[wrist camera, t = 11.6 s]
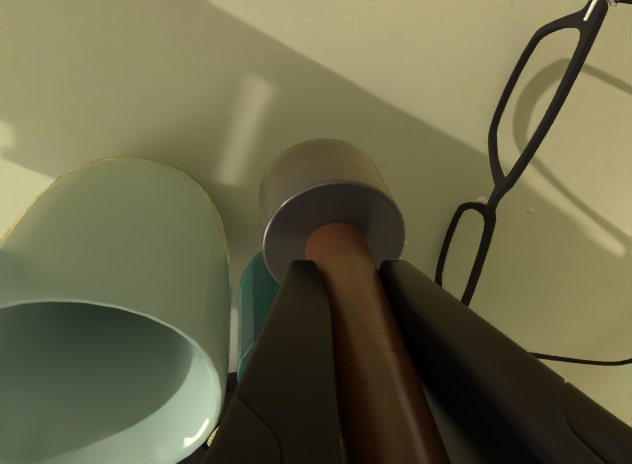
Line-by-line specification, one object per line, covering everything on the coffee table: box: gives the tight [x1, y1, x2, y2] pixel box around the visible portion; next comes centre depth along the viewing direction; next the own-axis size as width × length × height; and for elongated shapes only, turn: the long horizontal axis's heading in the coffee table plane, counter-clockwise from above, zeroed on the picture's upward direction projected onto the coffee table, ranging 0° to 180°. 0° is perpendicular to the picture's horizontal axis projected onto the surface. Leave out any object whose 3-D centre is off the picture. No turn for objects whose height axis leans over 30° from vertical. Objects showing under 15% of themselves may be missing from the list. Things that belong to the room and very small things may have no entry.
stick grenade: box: [259, 139, 451, 464], centre depth 8 cm, size 3×3×7 cm
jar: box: [237, 251, 281, 383], centre depth 23 cm, size 7×7×6 cm
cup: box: [0, 157, 231, 464], centre depth 18 cm, size 8×8×10 cm
